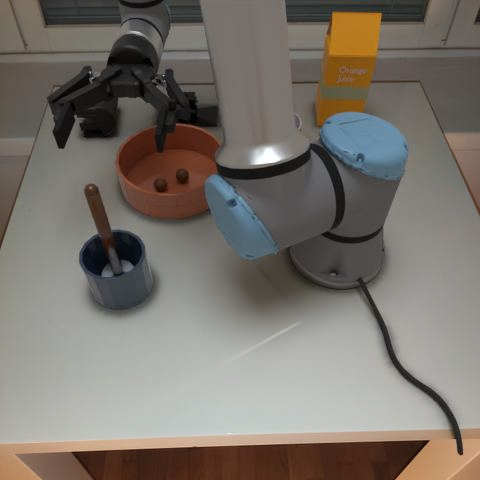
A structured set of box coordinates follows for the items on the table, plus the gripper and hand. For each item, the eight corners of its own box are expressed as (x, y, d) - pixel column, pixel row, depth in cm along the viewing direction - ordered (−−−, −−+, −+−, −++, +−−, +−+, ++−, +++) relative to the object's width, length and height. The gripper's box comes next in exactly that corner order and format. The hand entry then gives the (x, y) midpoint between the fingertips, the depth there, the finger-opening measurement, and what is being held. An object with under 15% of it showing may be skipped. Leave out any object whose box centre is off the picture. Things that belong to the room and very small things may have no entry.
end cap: (118, 137, 95) (111, 106, 89) (83, 139, 95) (73, 107, 89) (122, 108, 101) (115, 77, 95) (88, 109, 100) (79, 78, 95)
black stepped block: (156, 127, 97) (153, 106, 93) (159, 106, 101) (156, 85, 97) (216, 126, 97) (215, 105, 93) (217, 105, 101) (216, 84, 97)
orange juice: (360, 127, 98) (385, 23, 81) (317, 126, 98) (333, 22, 81) (355, 104, 102) (379, 1, 85) (314, 103, 102) (330, 0, 85)
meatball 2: (189, 182, 86) (182, 185, 88) (192, 170, 86) (186, 174, 88) (178, 176, 84) (171, 179, 86) (181, 164, 85) (175, 167, 87)
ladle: (143, 288, 74) (117, 190, 57) (114, 302, 72) (77, 205, 56) (130, 267, 76) (100, 166, 60) (101, 280, 75) (62, 180, 58)
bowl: (245, 195, 86) (246, 169, 81) (150, 236, 81) (145, 210, 76) (194, 139, 95) (192, 111, 90) (105, 172, 89) (98, 145, 84)
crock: (163, 295, 74) (156, 261, 67) (107, 321, 71) (94, 289, 65) (137, 255, 78) (128, 220, 72) (83, 279, 76) (69, 245, 69)
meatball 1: (161, 195, 84) (171, 186, 84) (152, 184, 83) (162, 175, 83) (158, 193, 86) (168, 184, 86) (149, 182, 85) (159, 173, 85)
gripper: (214, 83, 78) (202, 168, 66) (65, 78, 79) (26, 161, 67) (213, 35, 72) (199, 120, 60) (50, 30, 72) (5, 113, 61)
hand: (108, 142), depth 64 cm, fingers open, 13 cm apart
